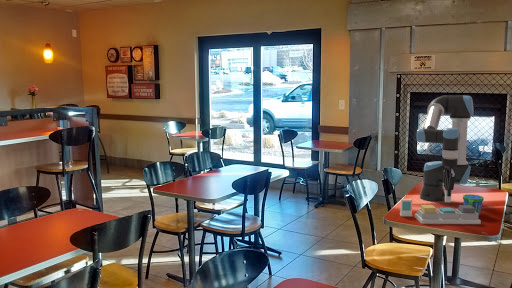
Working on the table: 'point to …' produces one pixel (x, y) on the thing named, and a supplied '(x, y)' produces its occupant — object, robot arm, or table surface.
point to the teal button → (447, 210)
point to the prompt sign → (406, 207)
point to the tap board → (447, 217)
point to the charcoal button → (466, 209)
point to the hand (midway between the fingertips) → (447, 201)
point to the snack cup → (473, 201)
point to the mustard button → (428, 209)
